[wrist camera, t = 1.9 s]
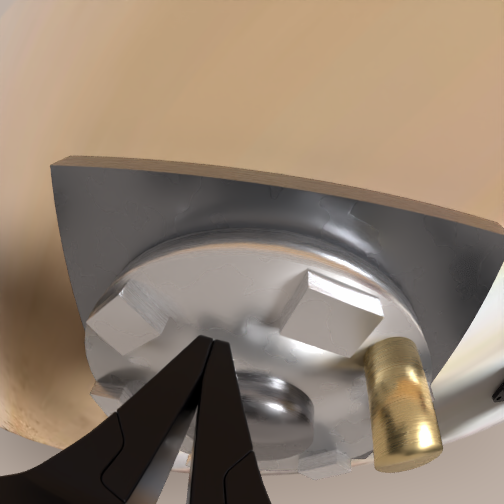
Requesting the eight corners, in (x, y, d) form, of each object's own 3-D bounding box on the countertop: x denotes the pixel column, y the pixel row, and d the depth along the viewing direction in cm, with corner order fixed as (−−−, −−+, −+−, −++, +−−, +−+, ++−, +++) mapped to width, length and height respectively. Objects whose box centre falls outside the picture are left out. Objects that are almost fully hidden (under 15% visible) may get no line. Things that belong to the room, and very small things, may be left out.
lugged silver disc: (479, 265, 11) (553, 383, 5) (355, 453, 19) (355, 529, 14) (76, 201, 12) (-35, 291, 6) (131, 417, 20) (102, 487, 15)
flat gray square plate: (497, 222, 11) (520, 244, 9) (364, 443, 21) (365, 465, 20) (70, 155, 12) (41, 169, 11) (125, 404, 23) (116, 424, 21)
